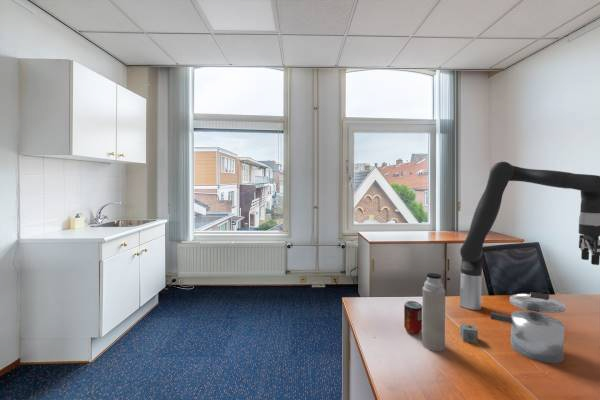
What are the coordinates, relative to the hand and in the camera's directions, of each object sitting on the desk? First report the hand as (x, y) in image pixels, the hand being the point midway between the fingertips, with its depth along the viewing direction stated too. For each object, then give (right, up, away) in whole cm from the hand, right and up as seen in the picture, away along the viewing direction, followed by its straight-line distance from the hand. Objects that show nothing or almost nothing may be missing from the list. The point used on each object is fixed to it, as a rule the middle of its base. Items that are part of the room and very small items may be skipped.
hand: (589, 262), depth 117 cm
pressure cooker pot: (-35, -30, -10) cm, 48 cm away
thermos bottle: (-70, -31, -8) cm, 77 cm away
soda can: (-73, -31, +3) cm, 79 cm away
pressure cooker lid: (-33, -13, -13) cm, 38 cm away
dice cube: (-53, -31, -4) cm, 61 cm away
